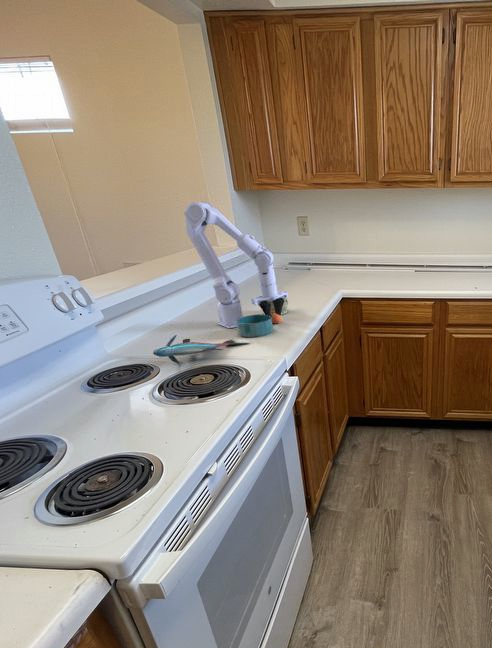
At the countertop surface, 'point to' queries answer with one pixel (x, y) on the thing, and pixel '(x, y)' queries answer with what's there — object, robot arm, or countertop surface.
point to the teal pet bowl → (254, 325)
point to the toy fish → (275, 318)
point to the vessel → (282, 307)
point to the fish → (188, 348)
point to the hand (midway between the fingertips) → (273, 319)
